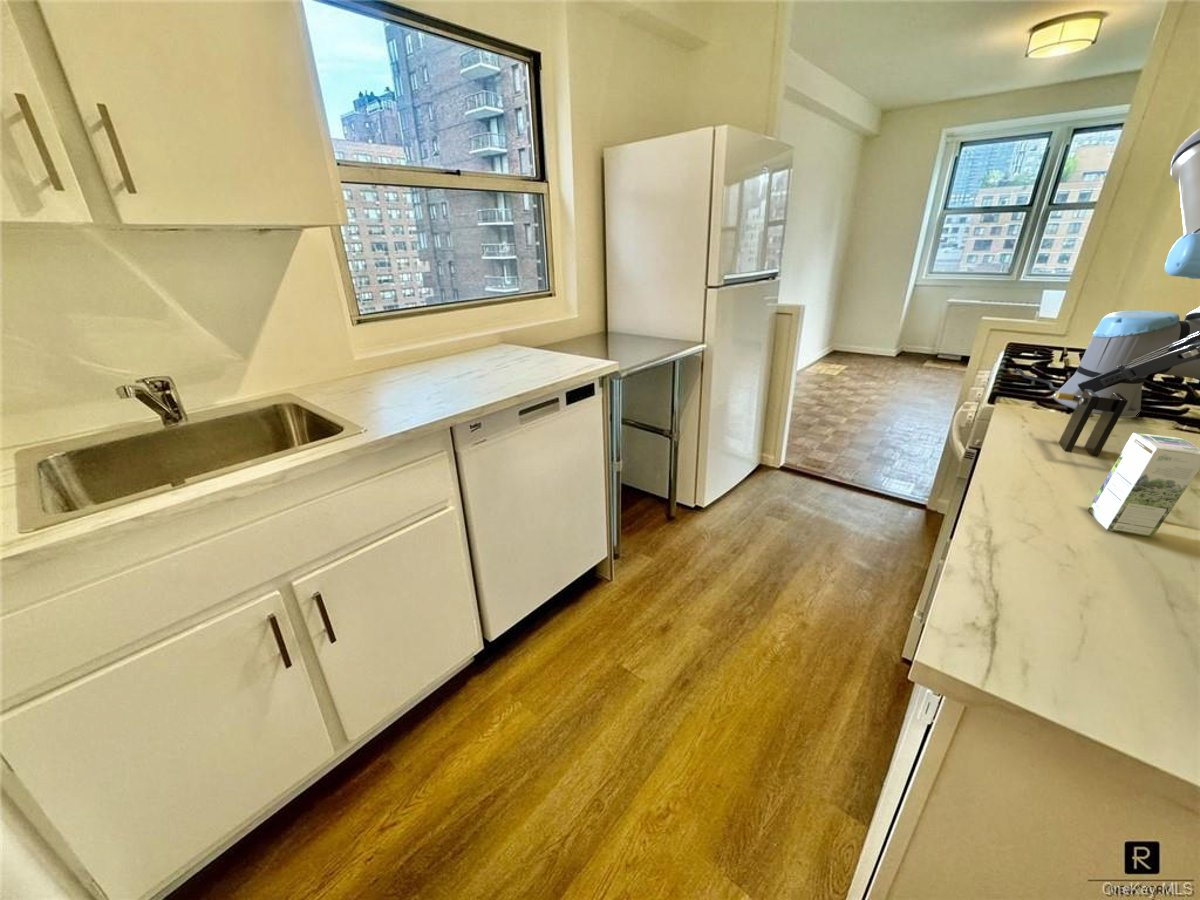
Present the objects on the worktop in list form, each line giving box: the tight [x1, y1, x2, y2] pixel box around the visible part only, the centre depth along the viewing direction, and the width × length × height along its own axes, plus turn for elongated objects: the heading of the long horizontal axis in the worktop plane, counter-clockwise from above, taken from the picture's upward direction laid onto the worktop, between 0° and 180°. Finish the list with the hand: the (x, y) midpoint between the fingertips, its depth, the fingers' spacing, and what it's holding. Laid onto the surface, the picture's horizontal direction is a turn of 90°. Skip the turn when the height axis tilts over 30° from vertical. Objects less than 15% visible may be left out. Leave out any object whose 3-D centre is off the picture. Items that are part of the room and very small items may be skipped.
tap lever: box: [1056, 392, 1115, 412], centre depth 96 cm, size 14×6×2 cm, turn 152°
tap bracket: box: [1058, 389, 1128, 458], centre depth 93 cm, size 10×9×13 cm
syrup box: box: [1087, 432, 1200, 538], centre depth 72 cm, size 6×6×14 cm
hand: (1081, 389), depth 100 cm, fingers closed
